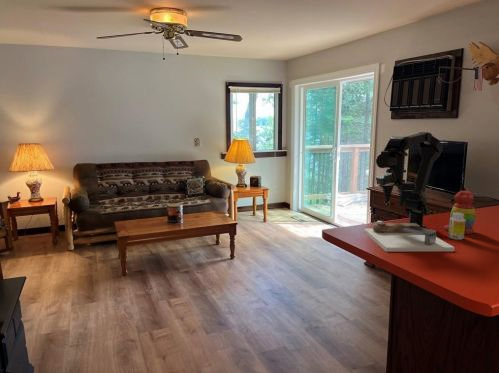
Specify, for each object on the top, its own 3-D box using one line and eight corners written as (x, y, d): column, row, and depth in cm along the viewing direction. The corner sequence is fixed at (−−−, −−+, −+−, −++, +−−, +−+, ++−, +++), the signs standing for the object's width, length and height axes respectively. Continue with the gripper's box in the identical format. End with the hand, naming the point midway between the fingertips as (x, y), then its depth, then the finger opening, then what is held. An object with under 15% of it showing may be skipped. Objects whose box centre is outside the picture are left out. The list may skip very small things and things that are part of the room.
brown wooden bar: (375, 232, 150) (376, 226, 149) (371, 228, 155) (371, 222, 154) (420, 232, 150) (420, 226, 150) (414, 228, 155) (415, 222, 155)
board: (363, 231, 157) (364, 218, 156) (421, 231, 158) (422, 218, 157) (386, 251, 133) (387, 236, 132) (454, 251, 133) (455, 235, 132)
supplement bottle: (466, 239, 148) (469, 214, 146) (456, 240, 146) (459, 215, 144) (454, 235, 153) (457, 211, 151) (444, 236, 151) (447, 212, 149)
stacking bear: (460, 226, 166) (464, 188, 163) (480, 233, 156) (485, 192, 153) (441, 228, 163) (445, 189, 160) (460, 235, 153) (465, 193, 150)
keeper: (403, 239, 142) (404, 227, 141) (409, 236, 145) (410, 225, 145) (429, 245, 135) (430, 233, 134) (435, 242, 138) (436, 230, 137)
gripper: (367, 164, 159) (364, 200, 162) (393, 169, 142) (390, 209, 144) (389, 164, 162) (386, 199, 165) (418, 169, 144) (414, 208, 147)
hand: (393, 203), depth 155 cm, fingers open, 9 cm apart
